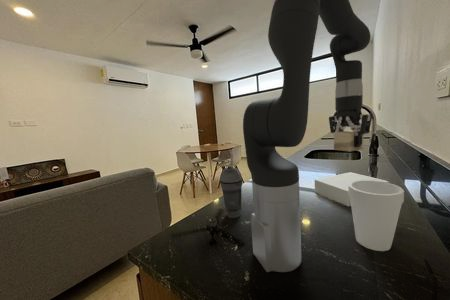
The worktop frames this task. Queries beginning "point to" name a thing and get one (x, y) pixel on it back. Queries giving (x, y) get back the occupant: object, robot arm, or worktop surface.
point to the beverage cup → (231, 190)
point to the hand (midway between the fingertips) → (348, 145)
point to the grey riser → (339, 186)
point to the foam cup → (375, 212)
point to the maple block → (345, 141)
